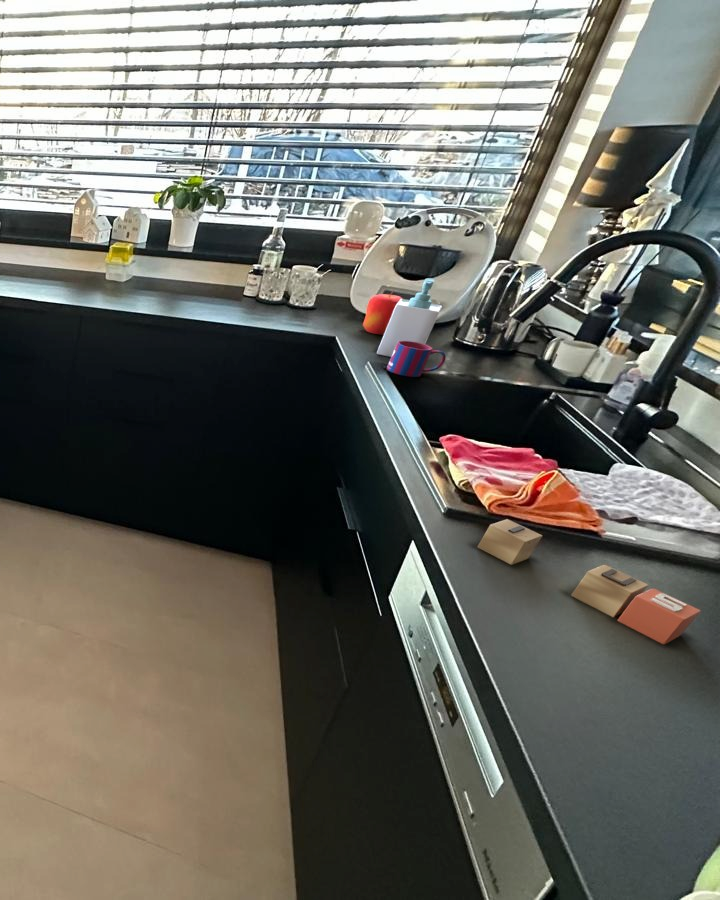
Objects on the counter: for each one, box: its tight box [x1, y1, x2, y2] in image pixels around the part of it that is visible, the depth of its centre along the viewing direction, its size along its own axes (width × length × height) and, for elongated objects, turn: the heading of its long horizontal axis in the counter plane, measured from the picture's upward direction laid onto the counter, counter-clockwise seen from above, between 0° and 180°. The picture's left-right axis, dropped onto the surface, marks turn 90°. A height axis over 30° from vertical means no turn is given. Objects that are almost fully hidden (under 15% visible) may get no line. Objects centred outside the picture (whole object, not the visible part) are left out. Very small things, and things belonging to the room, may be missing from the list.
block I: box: [477, 518, 543, 566], centre depth 82 cm, size 4×4×4 cm
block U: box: [570, 564, 649, 618], centre depth 74 cm, size 4×4×4 cm
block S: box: [617, 587, 702, 645], centre depth 70 cm, size 4×4×4 cm
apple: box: [362, 291, 404, 336], centre depth 175 cm, size 9×8×12 cm
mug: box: [386, 341, 447, 378], centre depth 145 cm, size 7×10×7 cm
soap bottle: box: [376, 277, 442, 358], centre depth 155 cm, size 9×9×19 cm
